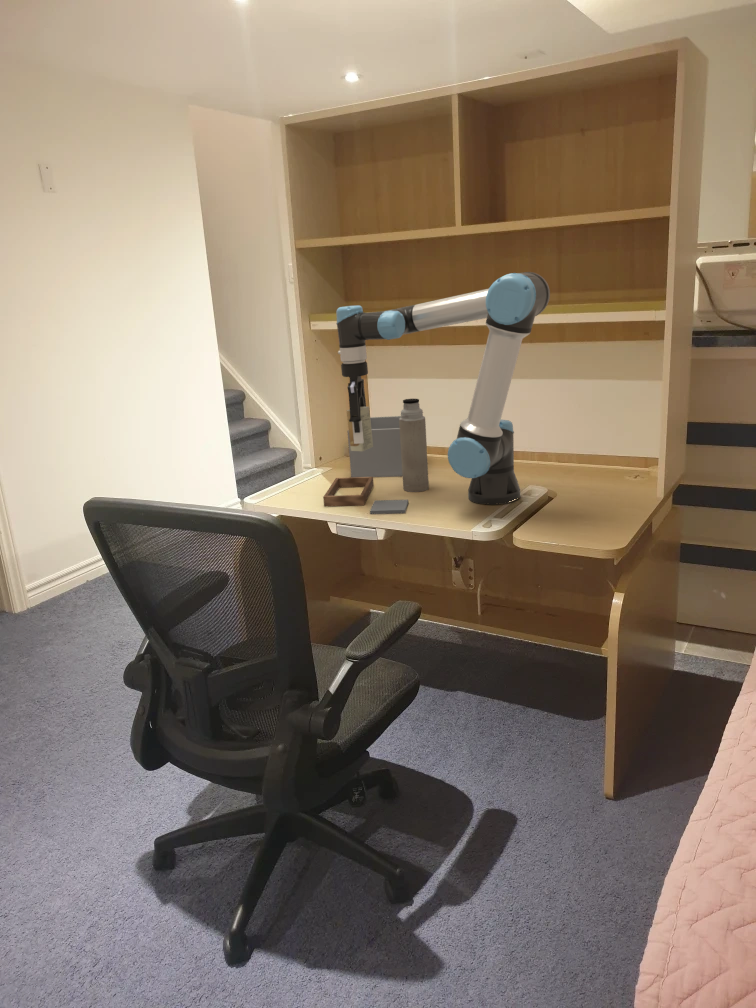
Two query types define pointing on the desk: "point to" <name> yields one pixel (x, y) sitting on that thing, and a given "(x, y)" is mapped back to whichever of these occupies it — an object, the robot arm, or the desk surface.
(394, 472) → the box
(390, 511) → the mat
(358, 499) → the frame
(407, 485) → the thermos bottle
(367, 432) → the skincare box
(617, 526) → the desk surface
